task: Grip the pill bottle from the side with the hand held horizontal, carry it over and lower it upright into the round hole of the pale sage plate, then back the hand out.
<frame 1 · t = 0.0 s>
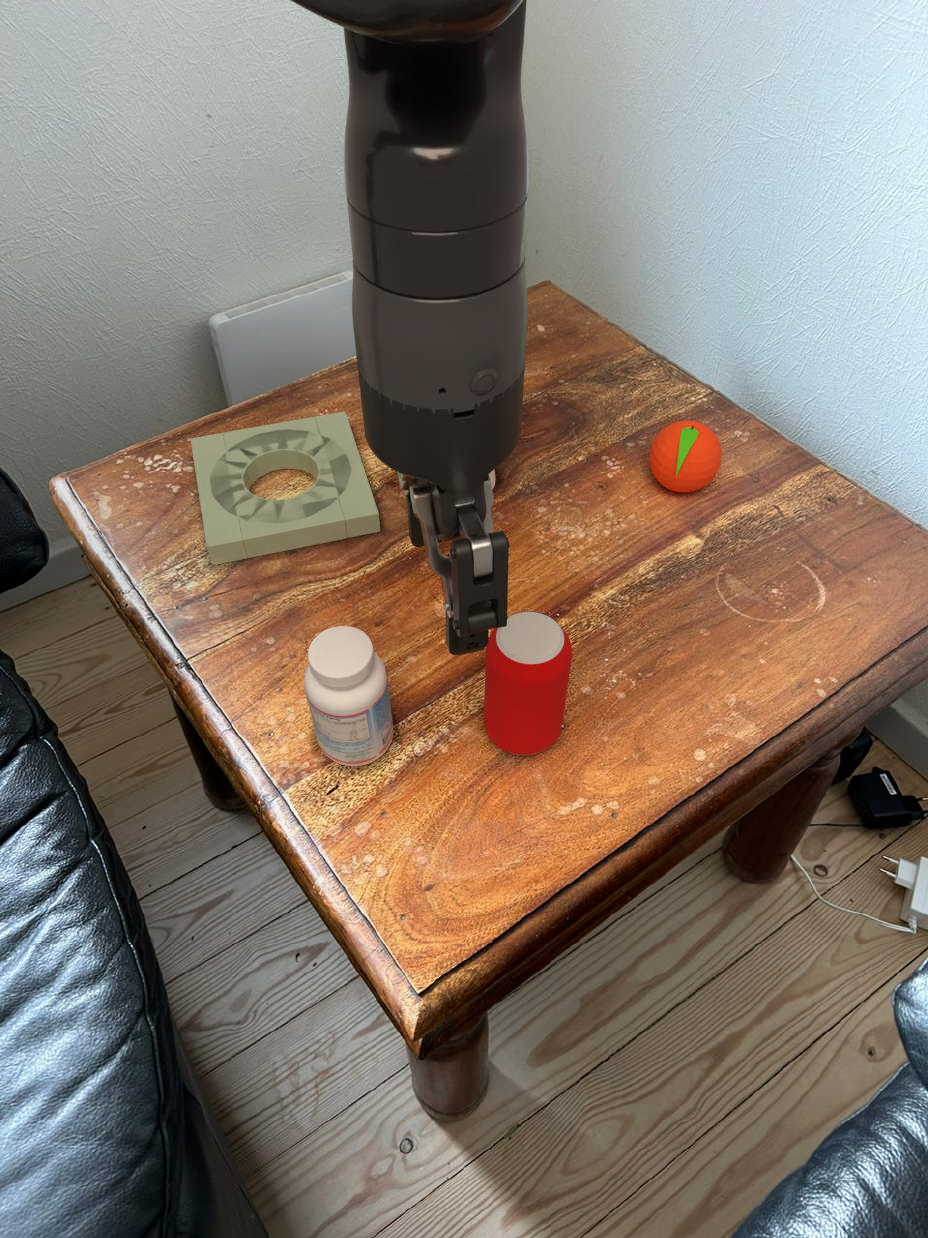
hand: (446, 592, 53), 22 cm above the table, tool pointing down, fingers open, 8 cm apart
clementine: (677, 488, 92), on the table
beverage can: (522, 730, 74), on the table
pill bottle: (355, 738, 73), on the table
perfume bottle: (429, 393, 102), on the table
cup: (457, 482, 93), on the table
hole plate: (284, 493, 92), on the table
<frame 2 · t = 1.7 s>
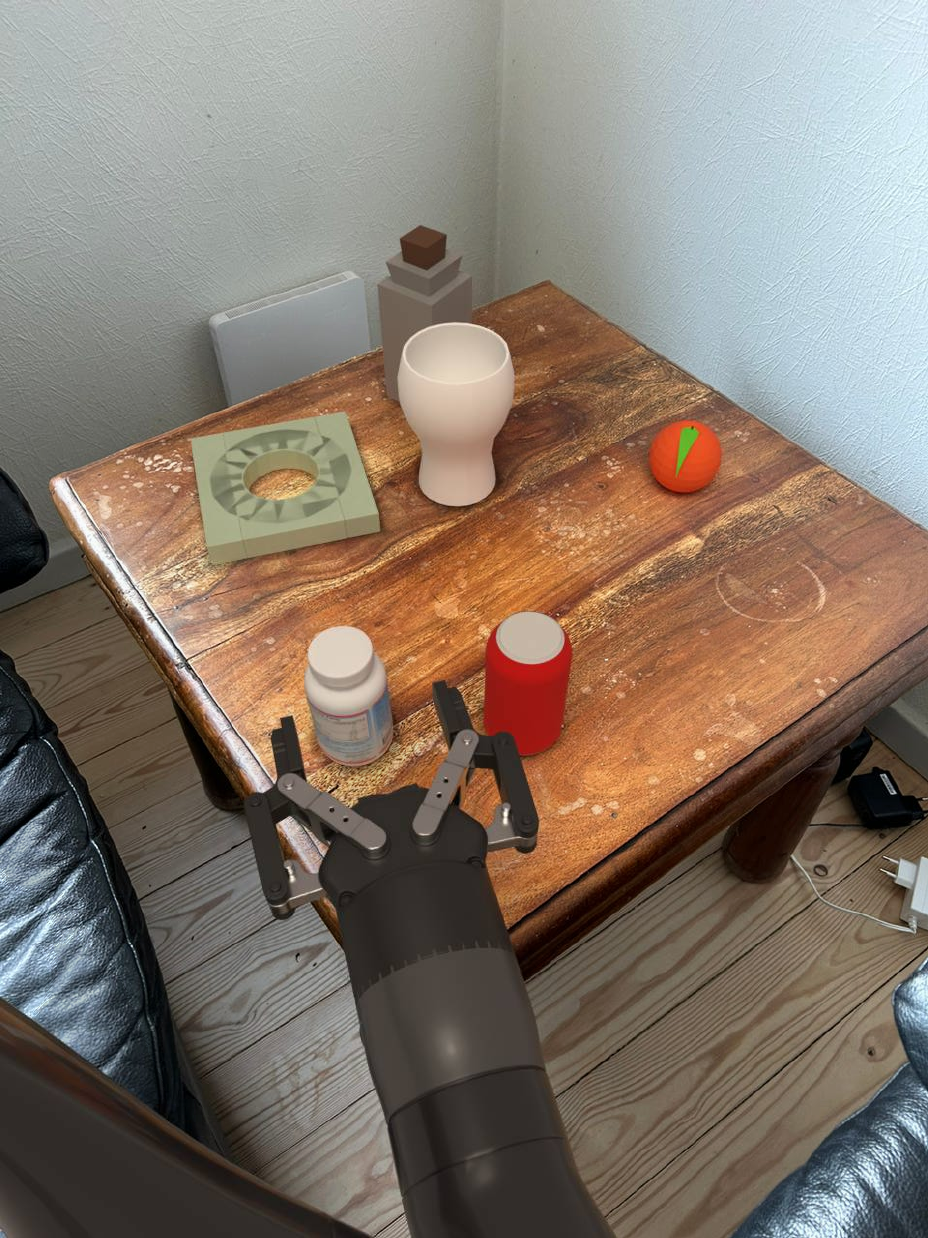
hand: (364, 706, 51), 20 cm above the table, tool horizontal, fingers open, 8 cm apart
nothing on the table moved.
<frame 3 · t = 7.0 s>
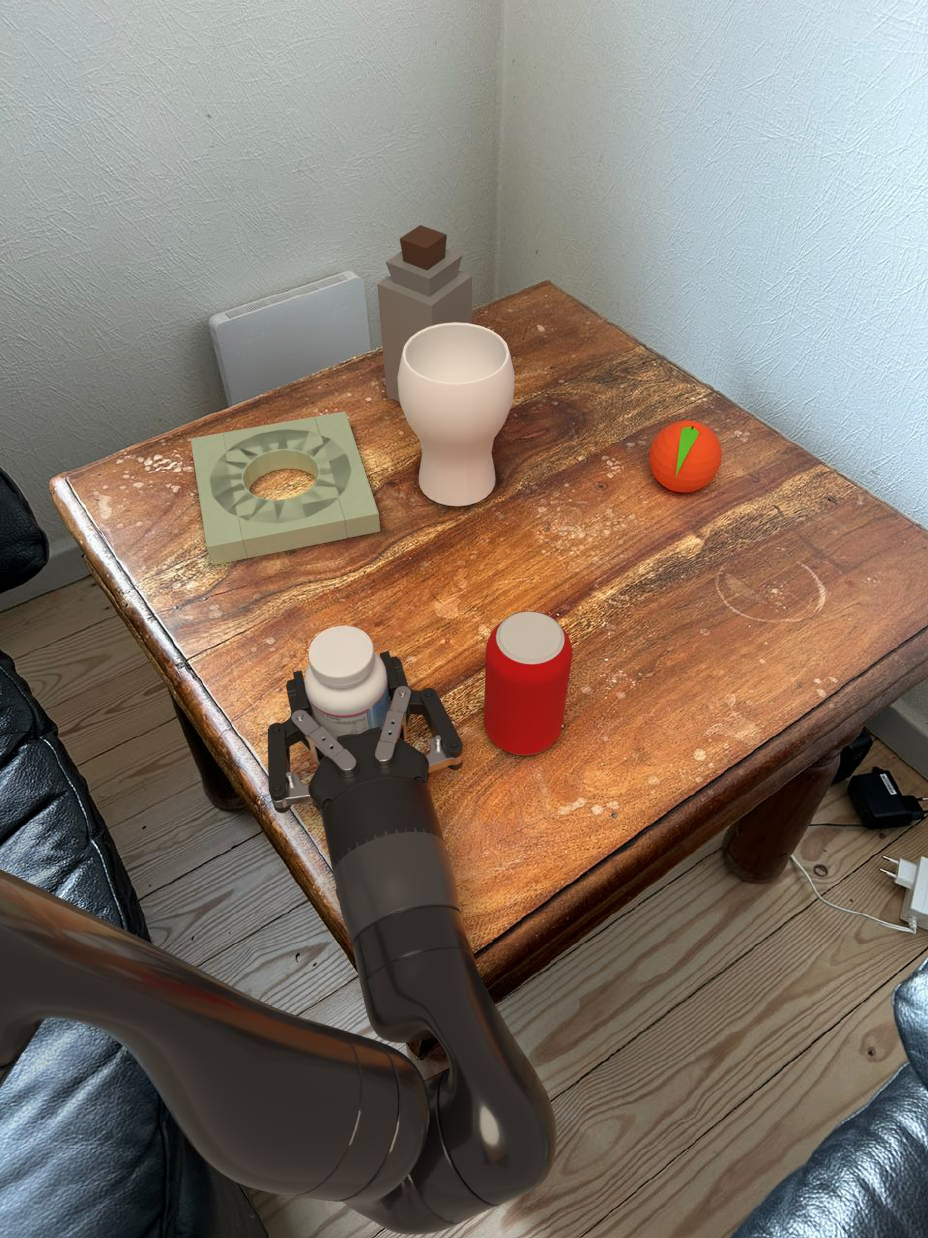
hand: (341, 668, 70), 6 cm above the table, tool horizontal, fingers closed on pill bottle, 6 cm apart
pill bottle: (355, 738, 73), on the table, touching gripper
everything else where it was.
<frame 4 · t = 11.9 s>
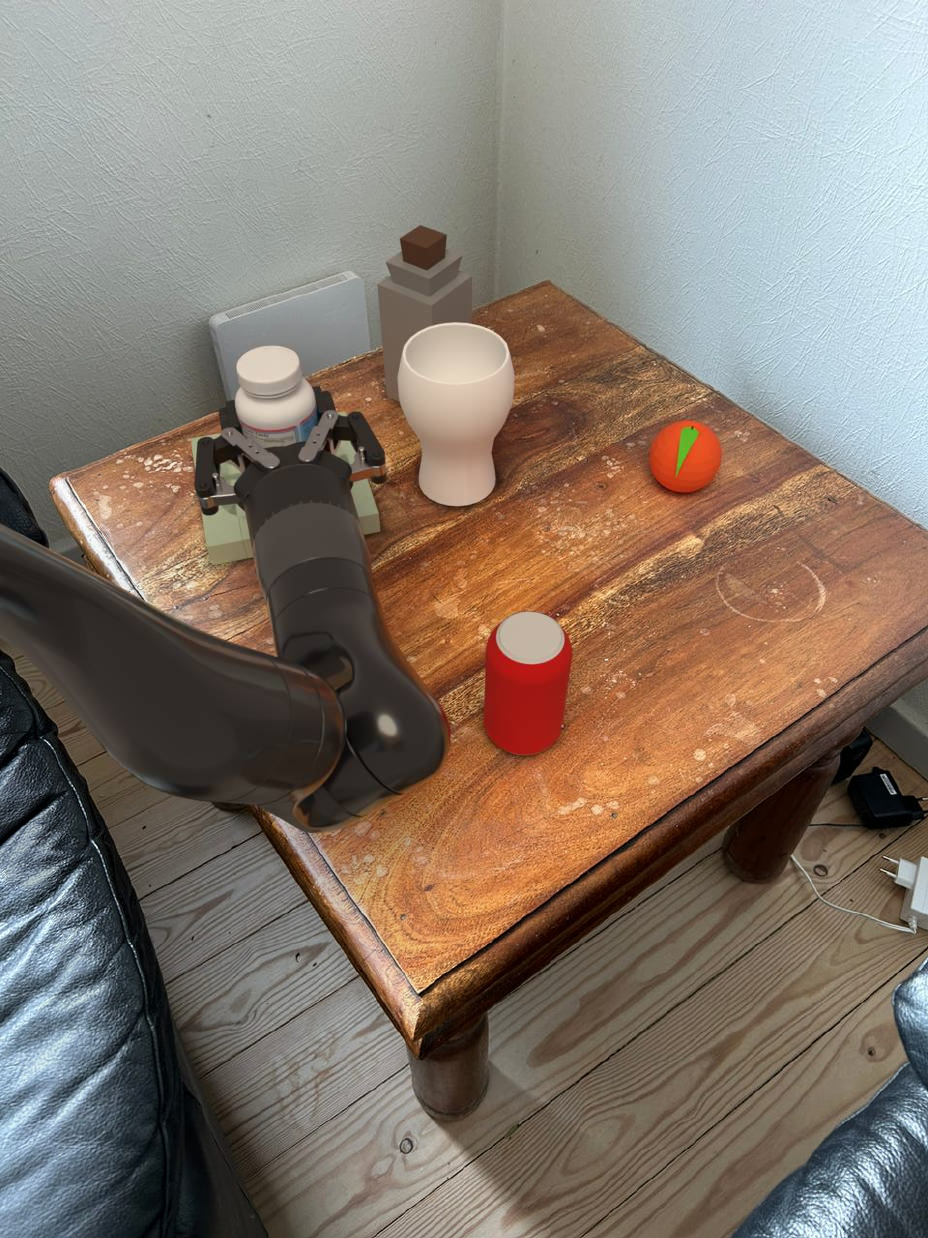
hand: (274, 402, 72), 18 cm above the table, tool horizontal, fingers closed on pill bottle, 6 cm apart
pill bottle: (290, 482, 76), point 11 cm above the table, touching gripper
everything else where it was.
when the fingers open (6 cm above the table, at t = 17.2 s): pill bottle stays where it is, resting in hole plate.
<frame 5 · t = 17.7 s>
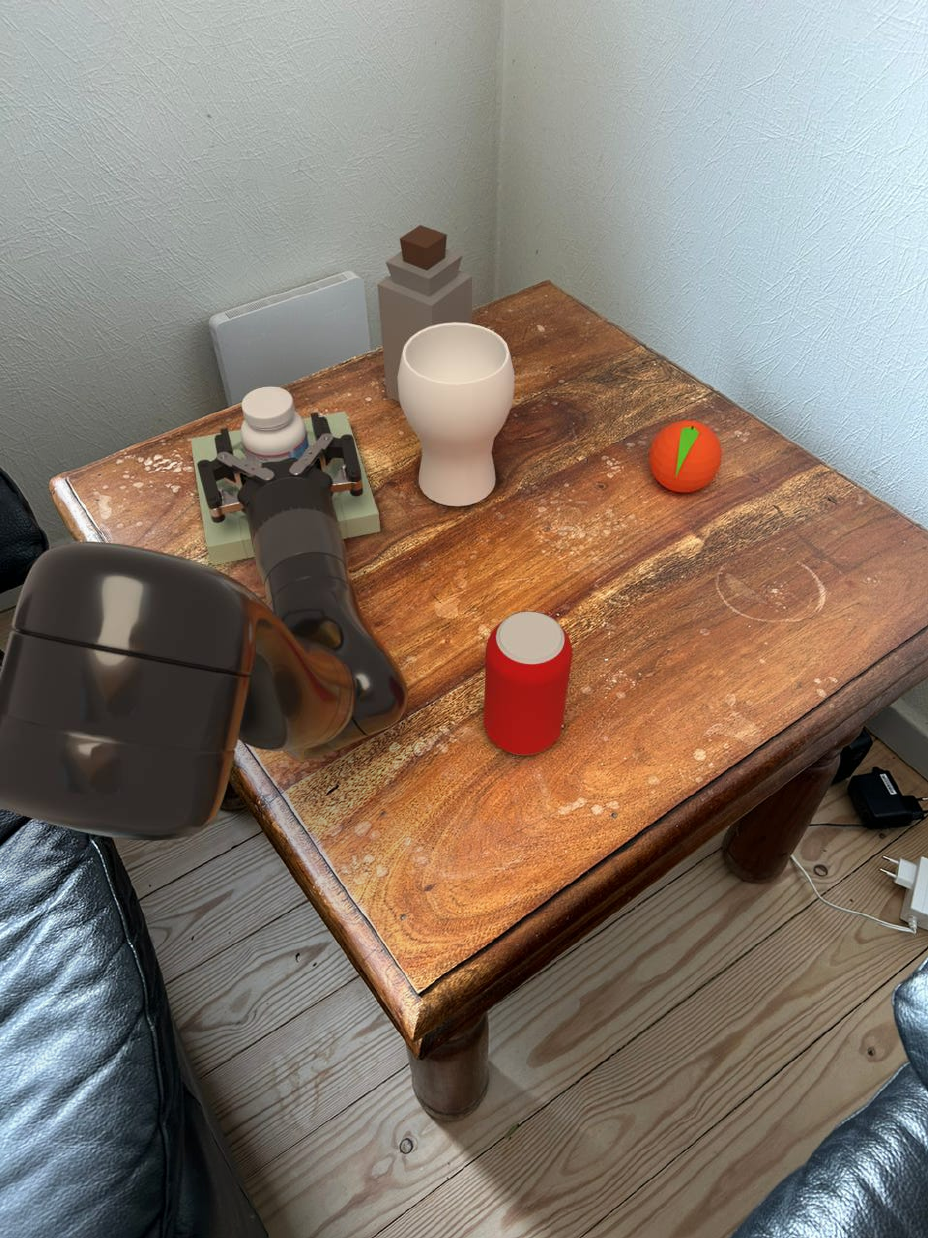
hand: (270, 427, 88), 7 cm above the table, tool horizontal, fingers open, 8 cm apart
pill bottle: (286, 495, 92), resting in hole plate
everything else where it was.
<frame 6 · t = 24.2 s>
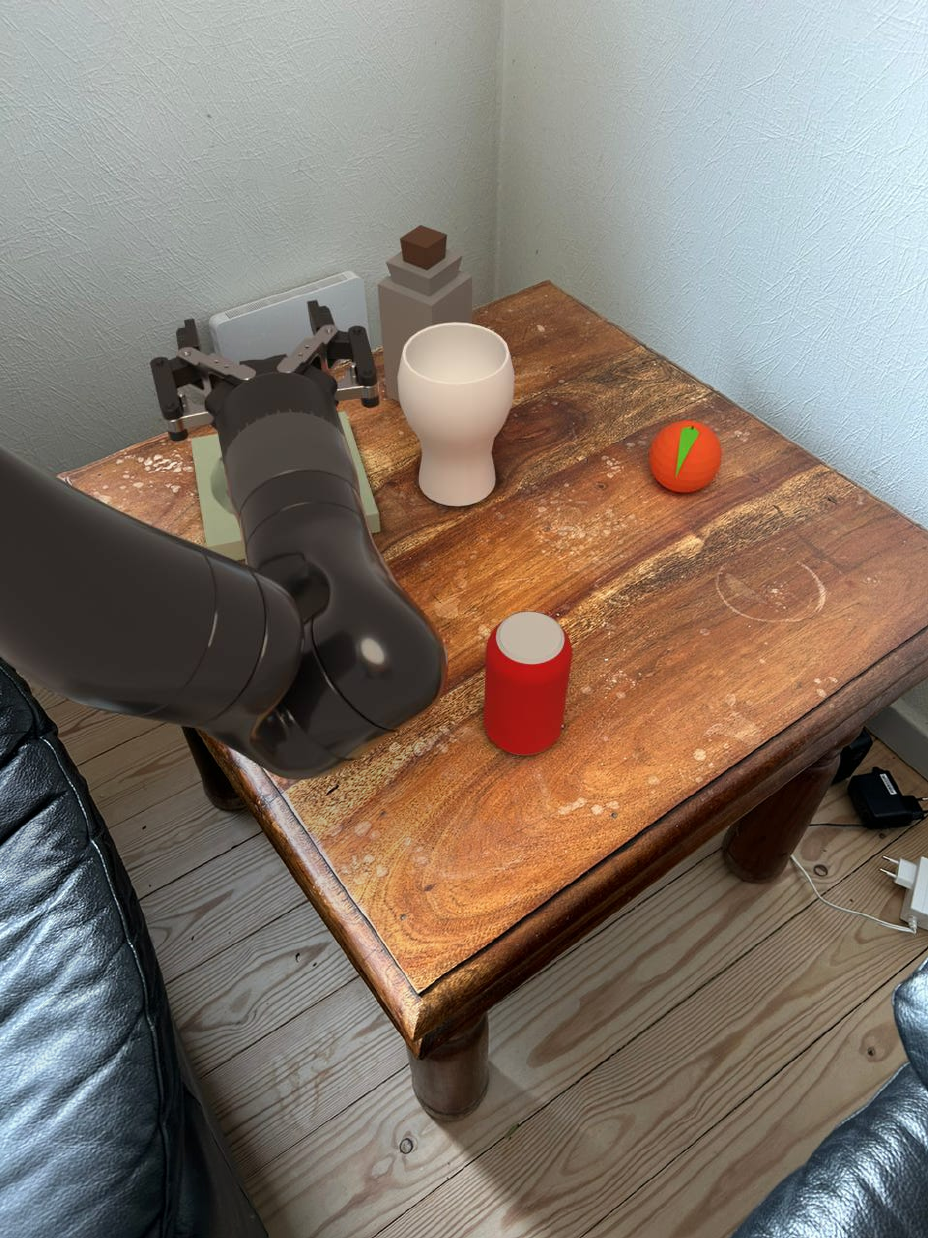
hand: (253, 320, 65), 26 cm above the table, tool horizontal, fingers open, 8 cm apart
nothing on the table moved.
at the end: pill bottle 0.2 cm off-centre in the hole plate, point 0.0 cm above the hole plate's base; pill bottle tilted 0°; the gripper is holding nothing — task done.
